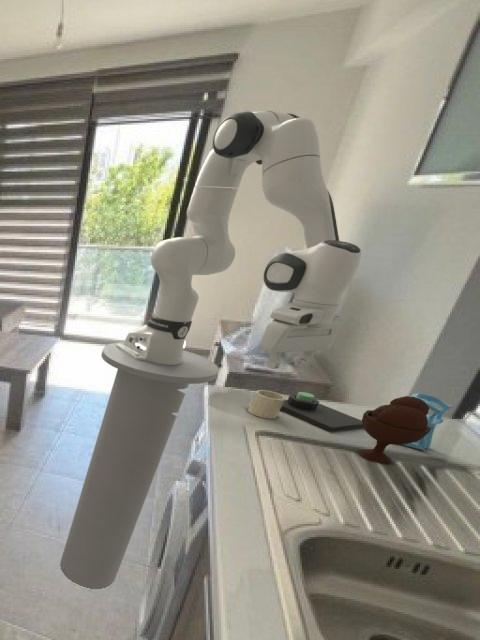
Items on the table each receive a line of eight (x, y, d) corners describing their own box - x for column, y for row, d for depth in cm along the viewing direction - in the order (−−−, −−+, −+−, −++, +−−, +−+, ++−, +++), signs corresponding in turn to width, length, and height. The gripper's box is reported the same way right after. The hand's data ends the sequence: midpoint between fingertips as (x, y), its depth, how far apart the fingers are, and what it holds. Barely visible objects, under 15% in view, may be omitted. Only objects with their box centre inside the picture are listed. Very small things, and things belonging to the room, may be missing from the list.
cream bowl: (242, 409, 131) (250, 390, 129) (259, 407, 133) (268, 389, 130) (264, 419, 126) (273, 400, 123) (282, 417, 127) (291, 398, 125)
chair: (419, 452, 113) (450, 407, 107) (375, 437, 119) (402, 393, 114) (433, 446, 116) (464, 401, 110) (389, 431, 123) (416, 388, 117)
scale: (269, 405, 135) (274, 395, 133) (303, 401, 138) (308, 392, 136) (329, 431, 121) (335, 421, 120) (365, 427, 124) (372, 416, 123)
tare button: (292, 398, 133) (295, 392, 132) (301, 397, 134) (304, 391, 133) (305, 403, 130) (308, 397, 129) (315, 402, 131) (318, 396, 130)
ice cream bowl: (339, 441, 117) (372, 384, 110) (401, 456, 111) (440, 397, 104) (345, 458, 109) (381, 398, 102) (412, 475, 103) (454, 413, 96)
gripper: (328, 309, 121) (303, 360, 128) (267, 311, 116) (244, 365, 123) (355, 315, 116) (328, 369, 123) (292, 317, 111) (267, 373, 117)
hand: (285, 367), depth 123 cm, fingers open, 8 cm apart
